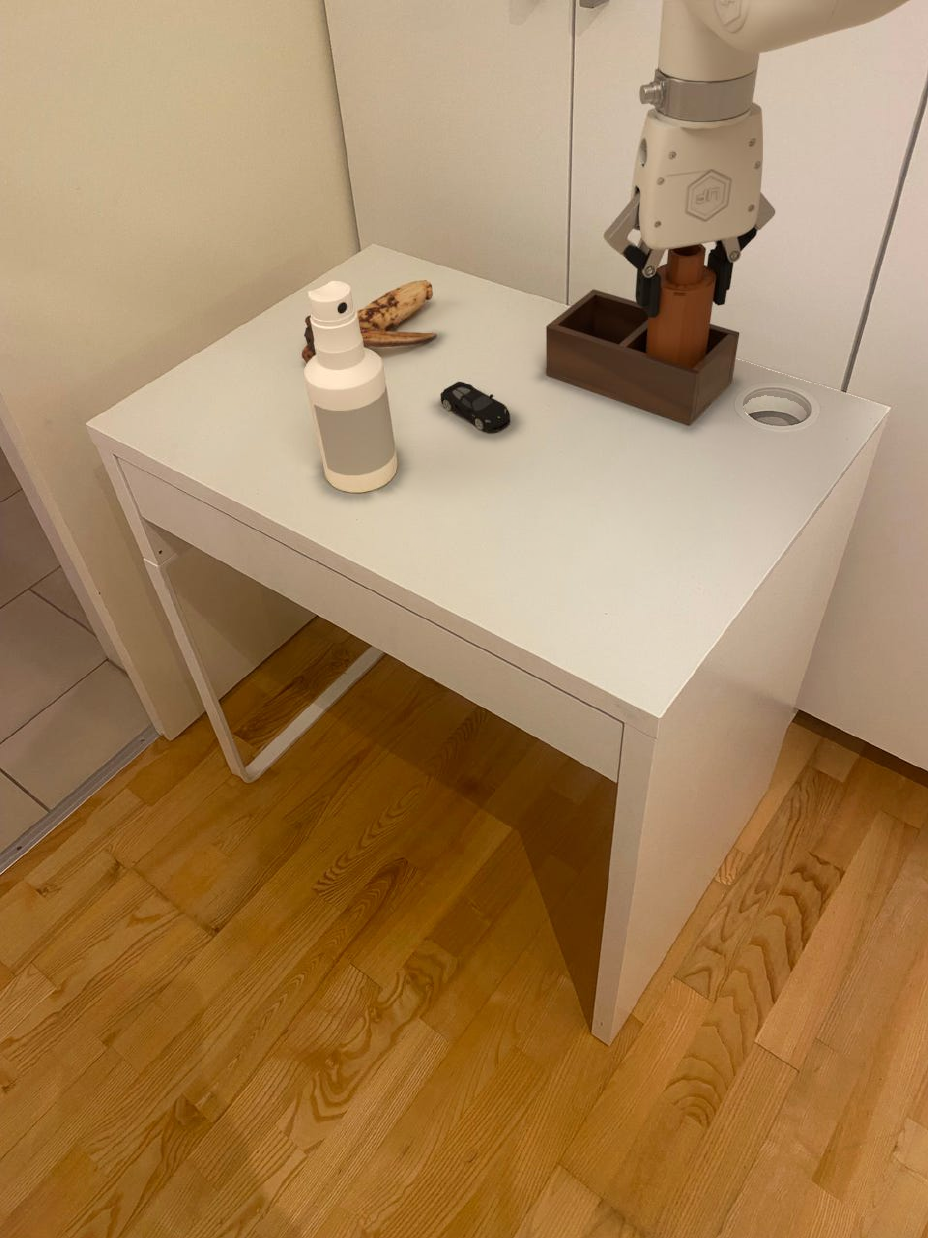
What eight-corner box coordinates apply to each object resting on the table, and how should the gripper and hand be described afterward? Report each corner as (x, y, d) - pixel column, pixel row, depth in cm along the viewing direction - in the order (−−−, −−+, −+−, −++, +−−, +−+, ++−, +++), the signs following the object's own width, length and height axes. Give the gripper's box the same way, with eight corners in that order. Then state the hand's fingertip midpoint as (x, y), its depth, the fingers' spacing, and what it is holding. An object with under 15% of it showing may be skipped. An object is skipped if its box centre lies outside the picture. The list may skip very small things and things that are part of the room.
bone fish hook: (345, 395, 99) (469, 321, 106) (338, 356, 95) (467, 282, 103) (290, 361, 103) (413, 292, 111) (281, 322, 100) (409, 254, 107)
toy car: (516, 422, 93) (516, 403, 91) (490, 438, 91) (489, 419, 90) (462, 390, 97) (460, 372, 95) (436, 405, 96) (434, 386, 94)
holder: (591, 337, 102) (593, 288, 98) (731, 382, 95) (740, 331, 91) (546, 375, 98) (545, 325, 94) (689, 426, 90) (696, 374, 86)
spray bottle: (352, 504, 86) (317, 322, 73) (311, 470, 90) (270, 291, 76) (412, 471, 88) (389, 289, 75) (370, 439, 92) (340, 261, 79)
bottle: (705, 369, 95) (723, 236, 85) (697, 400, 91) (715, 266, 82) (648, 363, 96) (659, 232, 87) (639, 394, 93) (650, 261, 83)
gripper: (616, 125, 71) (605, 341, 84) (829, 90, 73) (787, 307, 86) (584, 92, 76) (579, 301, 90) (784, 60, 78) (750, 270, 91)
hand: (681, 302), depth 88 cm, fingers closed on bottle, 5 cm apart
